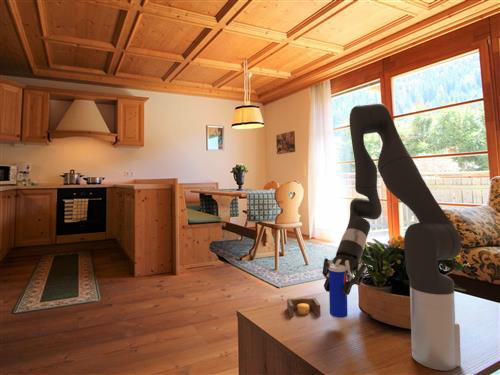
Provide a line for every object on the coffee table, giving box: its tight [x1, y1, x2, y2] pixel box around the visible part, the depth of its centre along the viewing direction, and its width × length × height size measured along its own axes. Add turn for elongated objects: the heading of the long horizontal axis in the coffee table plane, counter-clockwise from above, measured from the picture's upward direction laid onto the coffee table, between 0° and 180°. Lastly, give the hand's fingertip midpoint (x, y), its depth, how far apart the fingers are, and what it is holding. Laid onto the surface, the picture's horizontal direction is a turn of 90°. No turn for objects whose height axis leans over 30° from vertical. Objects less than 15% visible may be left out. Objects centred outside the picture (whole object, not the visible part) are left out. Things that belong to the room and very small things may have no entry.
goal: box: [286, 297, 321, 318], centre depth 103 cm, size 10×7×4 cm
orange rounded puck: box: [296, 303, 310, 316], centre depth 103 cm, size 4×4×2 cm
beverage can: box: [328, 264, 348, 320], centre depth 90 cm, size 5×5×15 cm
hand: (335, 292), depth 89 cm, fingers closed on beverage can, 5 cm apart
